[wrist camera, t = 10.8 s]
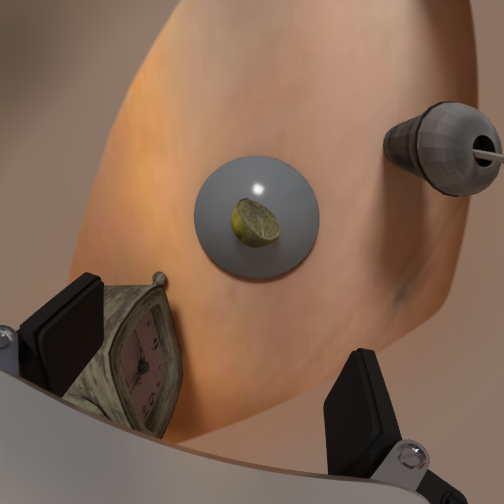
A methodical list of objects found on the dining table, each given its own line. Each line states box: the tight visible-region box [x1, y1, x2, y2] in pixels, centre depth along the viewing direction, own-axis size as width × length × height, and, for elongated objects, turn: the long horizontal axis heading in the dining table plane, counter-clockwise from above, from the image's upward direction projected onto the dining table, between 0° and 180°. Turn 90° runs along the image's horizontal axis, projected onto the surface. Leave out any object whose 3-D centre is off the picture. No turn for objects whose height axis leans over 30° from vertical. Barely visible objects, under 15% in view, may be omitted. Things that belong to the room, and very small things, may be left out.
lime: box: [230, 198, 280, 248], centre depth 30 cm, size 4×5×5 cm
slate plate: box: [194, 156, 319, 279], centre depth 33 cm, size 13×13×1 cm
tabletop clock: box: [62, 272, 183, 439], centre depth 27 cm, size 14×9×25 cm, turn 5°
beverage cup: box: [383, 101, 504, 197], centre depth 20 cm, size 7×7×20 cm
